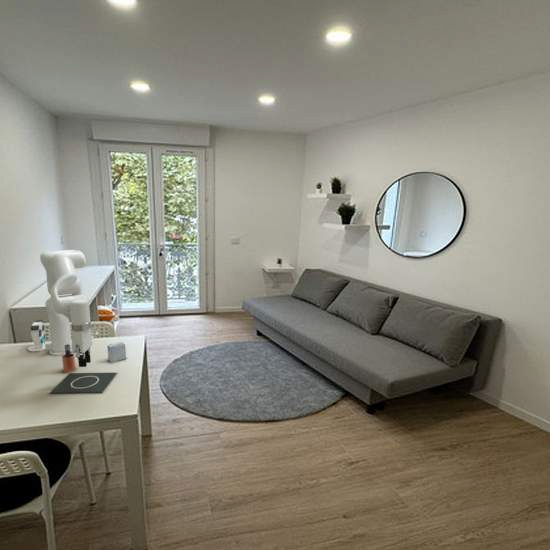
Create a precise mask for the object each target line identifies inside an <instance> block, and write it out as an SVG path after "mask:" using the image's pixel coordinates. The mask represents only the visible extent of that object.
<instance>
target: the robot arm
mask: <svg viewBox="0 0 550 550" xmlns="http://www.w3.org/2000/svg"><path fill="white" fill-rule="evenodd" d="M39 259H40V260H39V261H40V263H41V265H42V266H43V268H44V270H45V273H46V274H45V275H46V276H45V277H46V285H47V286H46V287H47V292H48V294H49V295H50V297H49V298H48V299H46V301H45V303H44V304H45V310H46V312H47V316H48V323H49V331H50V341H51V343H50V344H45V348H48V349H49V350H48V353H49V355H52V356H61V355H62V356H63V355H65V345H68V344H69V345H70V353H71V354H74V357H75V358H76V359H77V361H78V367H79V368H86V367H87V365H88V364H89V363H91V361H92V360H91V348H92V346H93V337H92V331H91V330H92V323H91V321H92V320H91V310H90V309H91V308H90V299H89V297H88V296H87V295H85V294H83V287H82V281H81V279H80V278H79V276H78V274H77V271H76V269H84V268H85V267H86V265H87V259H86V256H85V254H84V253H83V252H82V251H80V250H78V249H62V250H61V249H59V250H46V251H43V252H41V254H40V256H39ZM66 314H70V319H69V317H68V316H66ZM71 331H72V333H71Z"/></svg>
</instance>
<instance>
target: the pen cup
mask: <svg viewBox="0 0 550 550" xmlns="http://www.w3.org/2000/svg"><path fill="white" fill-rule="evenodd" d="M75 358H76V357H75V353H71V357H68V358H66V355H65V354H62V356H61V359H62V360H61V361H62V369H63V372H64V373H72V372H75V370H76V359H75Z"/></svg>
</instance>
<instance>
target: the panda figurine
mask: <svg viewBox="0 0 550 550" xmlns="http://www.w3.org/2000/svg"><path fill="white" fill-rule="evenodd" d="M30 336H31V339H32V341H33V344H32V345H30V346H28V347H27V351H29V352H40V351H45V350H47V349H49V348H45V344H51V343H50V342H45V338H46V334H45V325H44V319H35V320H34V322H33V323H32V324H31V325H30Z"/></svg>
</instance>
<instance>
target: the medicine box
mask: <svg viewBox="0 0 550 550" xmlns="http://www.w3.org/2000/svg"><path fill="white" fill-rule="evenodd" d="M106 347H107V359H108V361H109V362H110V363H114V362H119V361H122V360H125V359H127V351H126V343H125V342H123V341H120V342H115V343H111V344H108V345H107V346H106Z"/></svg>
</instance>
